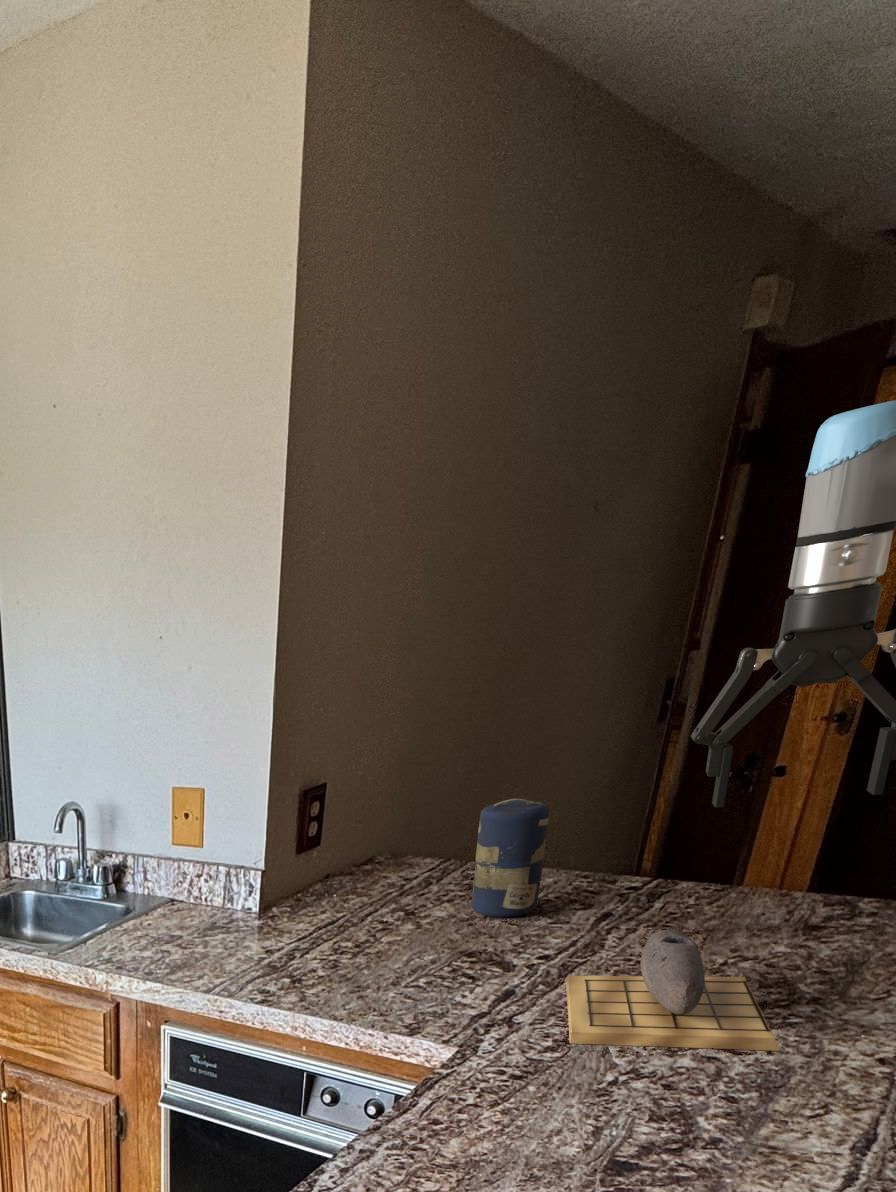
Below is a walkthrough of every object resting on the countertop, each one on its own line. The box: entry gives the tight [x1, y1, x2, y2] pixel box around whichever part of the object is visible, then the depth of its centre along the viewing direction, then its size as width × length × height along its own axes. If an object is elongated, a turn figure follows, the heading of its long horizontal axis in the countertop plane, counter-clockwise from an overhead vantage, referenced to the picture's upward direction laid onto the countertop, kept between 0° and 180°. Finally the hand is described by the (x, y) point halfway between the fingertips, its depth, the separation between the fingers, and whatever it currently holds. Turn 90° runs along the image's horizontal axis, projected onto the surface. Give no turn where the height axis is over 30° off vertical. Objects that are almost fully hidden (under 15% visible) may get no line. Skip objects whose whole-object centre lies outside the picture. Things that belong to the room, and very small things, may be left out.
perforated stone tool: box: [639, 929, 706, 1015], centre depth 115 cm, size 15×5×7 cm, turn 155°
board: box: [565, 975, 782, 1052], centre depth 117 cm, size 20×20×2 cm
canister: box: [471, 797, 550, 918], centre depth 157 cm, size 10×10×18 cm
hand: (793, 799), depth 111 cm, fingers open, 13 cm apart
